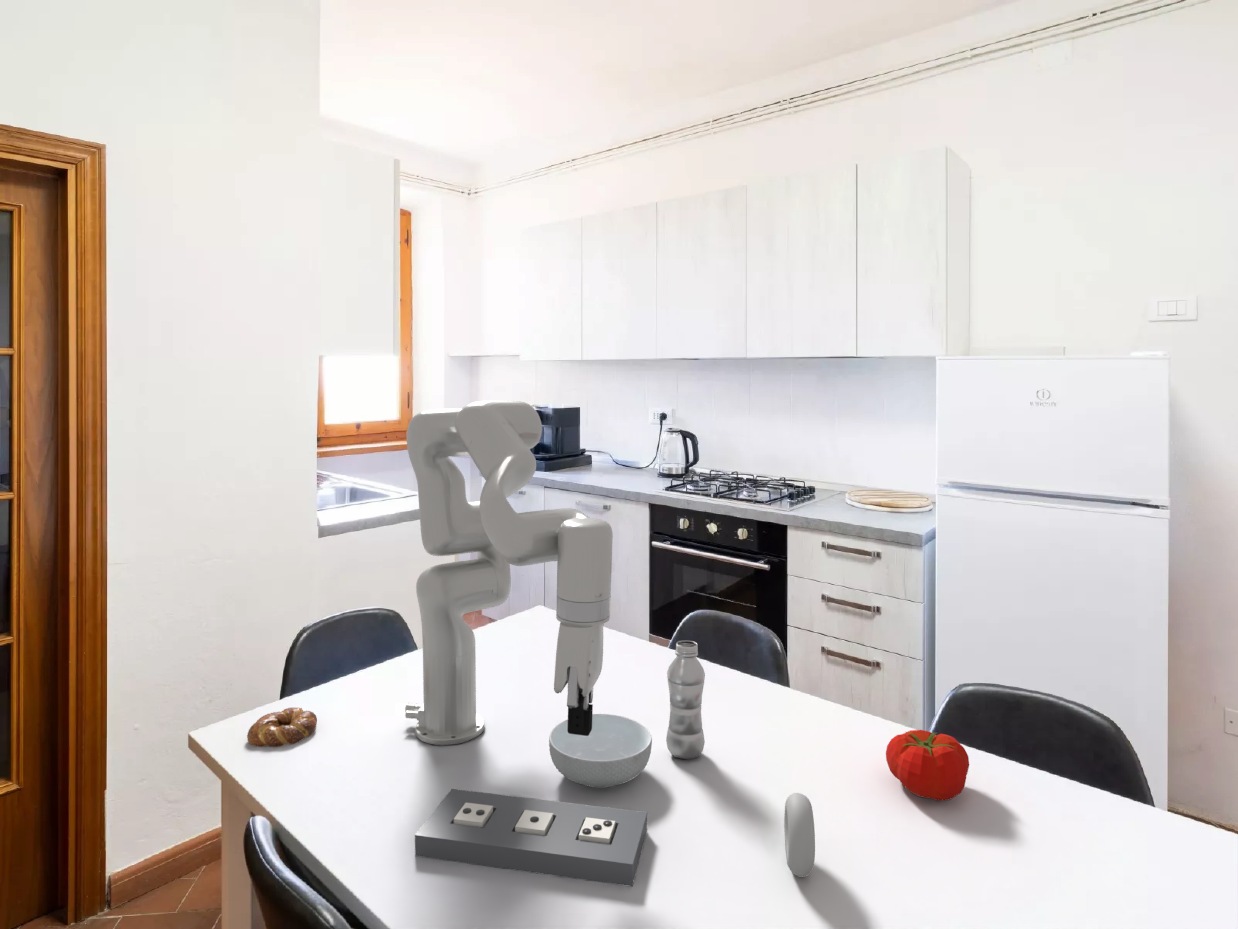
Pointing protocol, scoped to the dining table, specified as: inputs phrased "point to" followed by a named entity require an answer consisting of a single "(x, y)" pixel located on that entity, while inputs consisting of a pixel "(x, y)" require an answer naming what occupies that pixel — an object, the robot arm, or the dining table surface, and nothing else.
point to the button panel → (535, 838)
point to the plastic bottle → (685, 702)
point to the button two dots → (474, 815)
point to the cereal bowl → (601, 751)
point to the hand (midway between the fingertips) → (579, 731)
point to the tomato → (928, 764)
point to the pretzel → (282, 728)
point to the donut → (799, 834)
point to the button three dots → (597, 831)
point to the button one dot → (534, 822)
